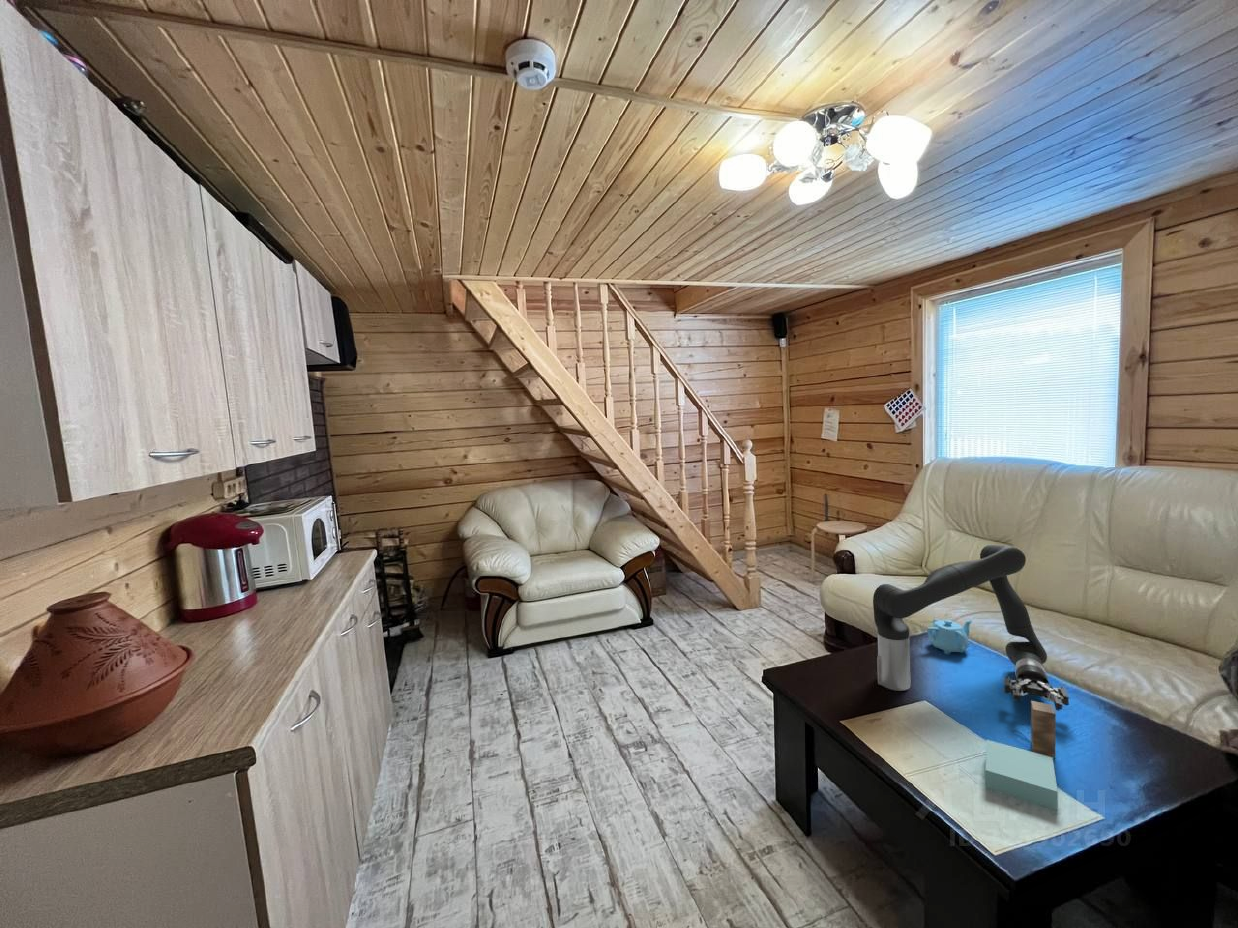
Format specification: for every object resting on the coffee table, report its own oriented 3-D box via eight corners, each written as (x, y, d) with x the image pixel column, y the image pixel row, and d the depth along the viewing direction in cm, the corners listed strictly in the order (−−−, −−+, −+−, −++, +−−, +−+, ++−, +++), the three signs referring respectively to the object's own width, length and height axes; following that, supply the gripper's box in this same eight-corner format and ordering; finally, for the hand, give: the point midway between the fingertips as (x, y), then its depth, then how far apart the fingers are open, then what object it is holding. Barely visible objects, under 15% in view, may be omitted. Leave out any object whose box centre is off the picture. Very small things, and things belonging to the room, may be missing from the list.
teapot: (924, 651, 185) (923, 623, 184) (934, 635, 195) (934, 609, 194) (965, 661, 176) (964, 632, 175) (973, 644, 186) (973, 616, 185)
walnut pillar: (1033, 752, 129) (1033, 709, 128) (1031, 742, 133) (1031, 700, 132) (1055, 758, 127) (1055, 713, 126) (1052, 747, 130) (1052, 704, 129)
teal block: (985, 789, 119) (985, 769, 119) (986, 757, 129) (986, 739, 129) (1057, 812, 111) (1057, 791, 111) (1052, 776, 121) (1052, 757, 121)
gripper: (1001, 659, 155) (1005, 684, 142) (1062, 669, 147) (1072, 696, 134) (1002, 681, 156) (1005, 708, 143) (1062, 693, 148) (1072, 723, 134)
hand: (1037, 703), depth 138 cm, fingers open, 8 cm apart
